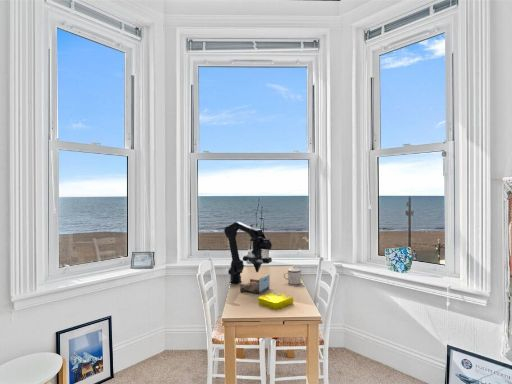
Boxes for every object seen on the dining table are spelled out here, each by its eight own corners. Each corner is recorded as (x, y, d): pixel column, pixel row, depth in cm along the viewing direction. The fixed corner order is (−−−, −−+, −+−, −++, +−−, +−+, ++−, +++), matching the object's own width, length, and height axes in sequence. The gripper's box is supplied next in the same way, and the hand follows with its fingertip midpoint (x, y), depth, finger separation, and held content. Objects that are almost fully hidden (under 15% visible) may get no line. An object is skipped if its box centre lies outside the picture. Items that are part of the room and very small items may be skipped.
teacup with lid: (299, 280, 227) (299, 264, 227) (302, 284, 218) (302, 267, 218) (282, 281, 226) (282, 264, 226) (284, 285, 217) (284, 267, 217)
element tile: (256, 304, 181) (256, 295, 181) (275, 298, 191) (275, 290, 191) (276, 311, 170) (276, 302, 170) (294, 304, 180) (294, 295, 180)
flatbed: (239, 291, 203) (239, 284, 203) (251, 285, 217) (251, 278, 217) (259, 294, 196) (259, 287, 196) (270, 287, 211) (270, 280, 211)
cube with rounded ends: (247, 287, 203) (247, 282, 203) (250, 286, 206) (250, 281, 206) (258, 288, 200) (257, 283, 200) (260, 287, 203) (260, 282, 203)
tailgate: (258, 291, 198) (258, 279, 198) (268, 285, 210) (268, 274, 210) (260, 291, 197) (260, 279, 197) (269, 285, 209) (269, 274, 209)
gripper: (238, 249, 207) (238, 273, 207) (264, 251, 199) (264, 276, 199) (246, 246, 217) (247, 269, 217) (272, 248, 208) (272, 272, 208)
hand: (257, 272), depth 210 cm, fingers closed
